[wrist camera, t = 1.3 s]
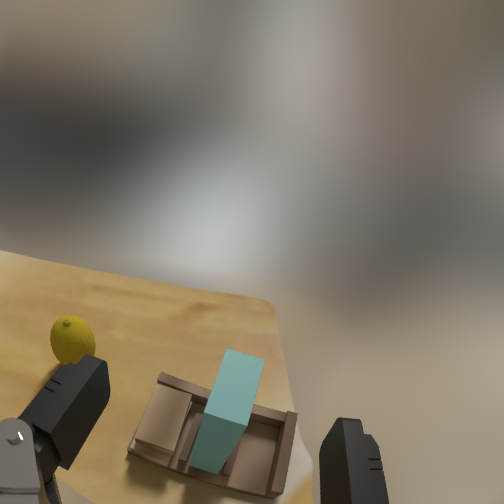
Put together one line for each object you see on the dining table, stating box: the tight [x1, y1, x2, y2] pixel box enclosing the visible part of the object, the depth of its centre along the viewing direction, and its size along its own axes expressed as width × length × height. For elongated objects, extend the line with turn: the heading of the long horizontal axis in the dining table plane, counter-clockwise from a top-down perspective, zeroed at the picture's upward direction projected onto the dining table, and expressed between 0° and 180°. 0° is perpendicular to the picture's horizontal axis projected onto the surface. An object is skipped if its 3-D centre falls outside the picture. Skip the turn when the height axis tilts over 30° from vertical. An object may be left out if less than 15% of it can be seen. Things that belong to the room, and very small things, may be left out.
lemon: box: [50, 315, 95, 365], centre depth 31 cm, size 6×6×8 cm
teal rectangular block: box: [189, 348, 264, 474], centre depth 25 cm, size 3×6×14 cm, turn 168°
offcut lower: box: [130, 402, 192, 466], centre depth 29 cm, size 4×8×2 cm, turn 168°
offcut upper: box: [135, 383, 192, 455], centre depth 28 cm, size 4×7×2 cm, turn 172°
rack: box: [127, 372, 297, 499], centre depth 29 cm, size 16×10×4 cm, turn 78°
